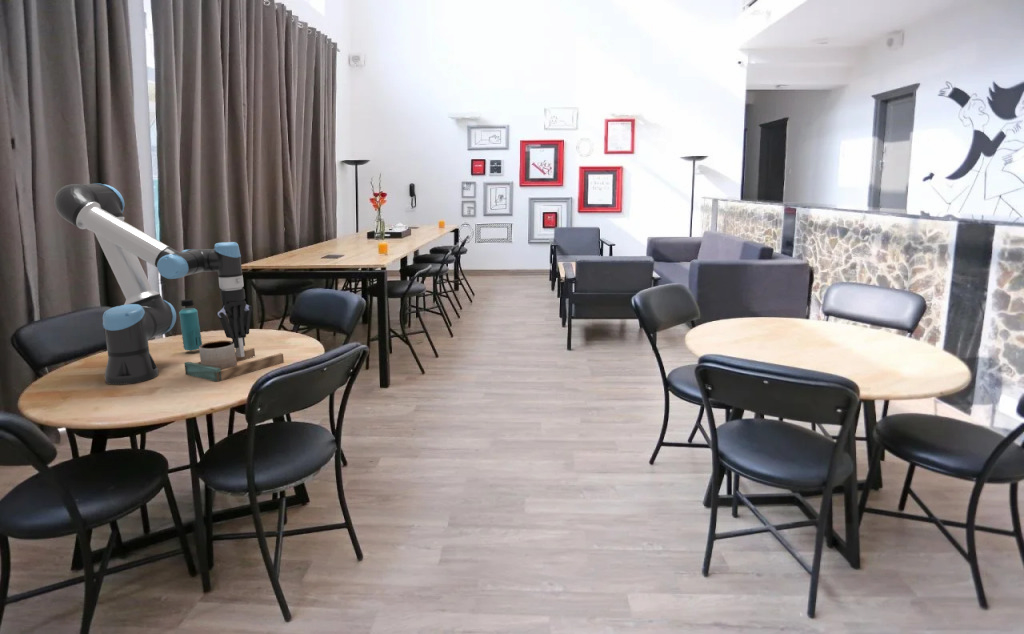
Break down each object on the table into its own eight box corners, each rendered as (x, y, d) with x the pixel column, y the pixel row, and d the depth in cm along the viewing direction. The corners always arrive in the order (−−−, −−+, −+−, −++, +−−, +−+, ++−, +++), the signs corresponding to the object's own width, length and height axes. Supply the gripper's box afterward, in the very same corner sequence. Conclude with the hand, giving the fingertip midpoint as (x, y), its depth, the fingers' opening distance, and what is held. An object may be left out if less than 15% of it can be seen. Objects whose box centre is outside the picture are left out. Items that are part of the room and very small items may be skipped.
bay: (217, 381, 209) (216, 369, 208) (185, 374, 218) (184, 362, 217) (283, 361, 231) (282, 350, 230) (252, 355, 239) (251, 345, 239)
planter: (195, 374, 218) (191, 346, 216) (224, 365, 227) (221, 338, 224) (215, 379, 212) (211, 350, 210) (244, 370, 221) (241, 342, 219)
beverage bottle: (198, 354, 243) (191, 301, 239) (180, 354, 243) (173, 301, 239) (206, 349, 250) (200, 298, 245) (189, 349, 250) (182, 298, 246)
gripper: (222, 292, 213) (230, 362, 218) (255, 286, 223) (263, 353, 228) (207, 291, 217) (216, 359, 222) (241, 284, 227) (249, 350, 232)
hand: (240, 356), depth 225 cm, fingers closed
